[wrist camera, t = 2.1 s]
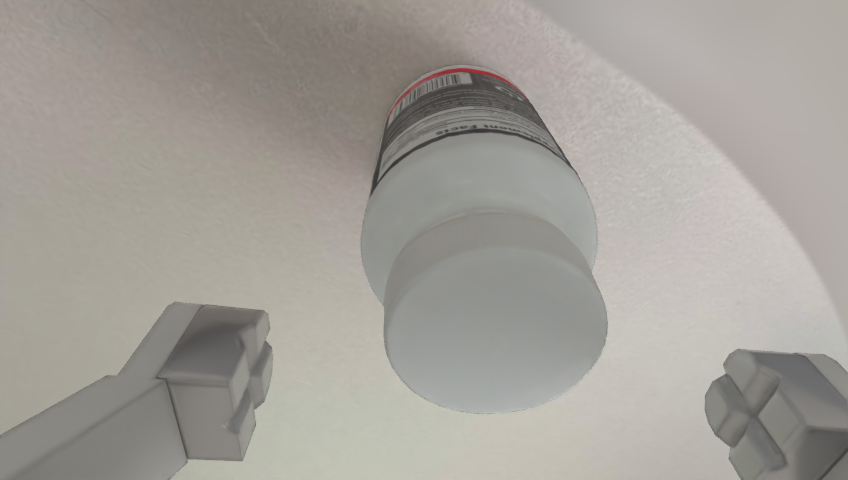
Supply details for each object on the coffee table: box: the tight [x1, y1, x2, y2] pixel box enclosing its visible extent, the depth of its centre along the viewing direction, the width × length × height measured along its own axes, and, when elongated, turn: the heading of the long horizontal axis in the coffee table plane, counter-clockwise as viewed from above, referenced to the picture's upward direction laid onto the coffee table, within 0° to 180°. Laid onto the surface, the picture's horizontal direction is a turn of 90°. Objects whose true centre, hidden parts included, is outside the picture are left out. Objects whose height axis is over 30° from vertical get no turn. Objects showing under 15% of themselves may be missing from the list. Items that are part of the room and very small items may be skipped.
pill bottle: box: [361, 65, 608, 414], centre depth 13 cm, size 5×5×10 cm
